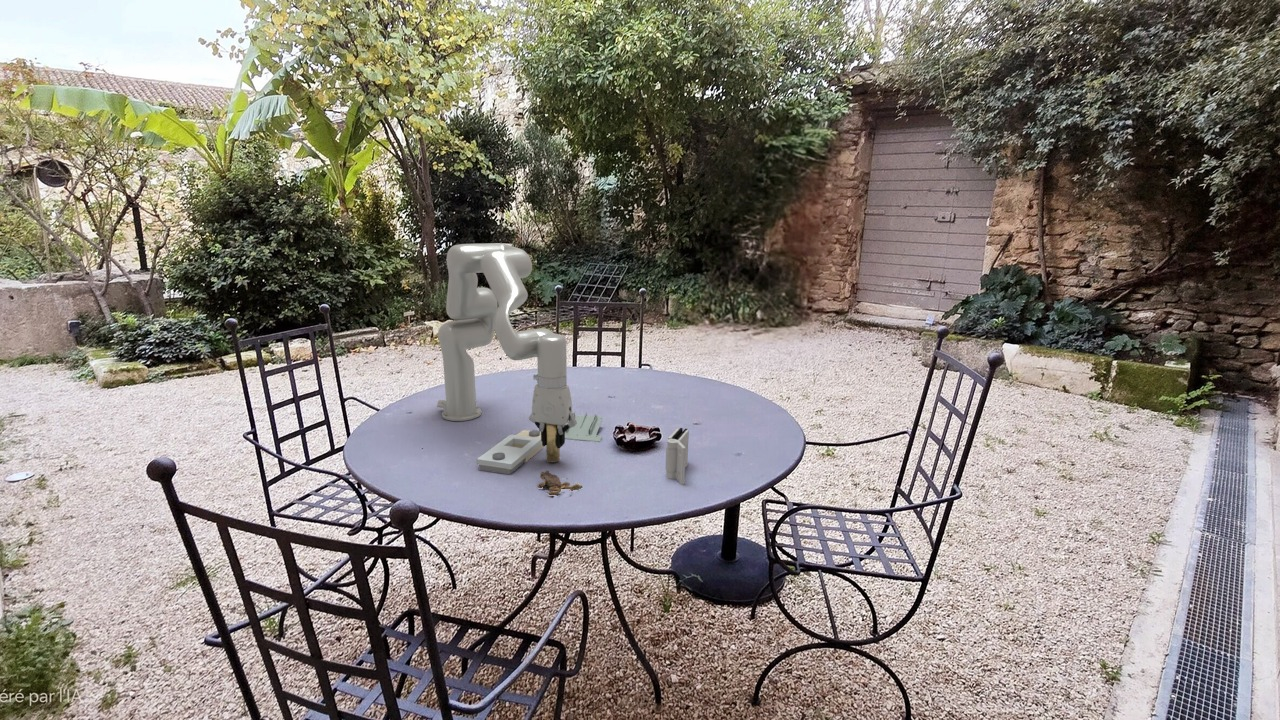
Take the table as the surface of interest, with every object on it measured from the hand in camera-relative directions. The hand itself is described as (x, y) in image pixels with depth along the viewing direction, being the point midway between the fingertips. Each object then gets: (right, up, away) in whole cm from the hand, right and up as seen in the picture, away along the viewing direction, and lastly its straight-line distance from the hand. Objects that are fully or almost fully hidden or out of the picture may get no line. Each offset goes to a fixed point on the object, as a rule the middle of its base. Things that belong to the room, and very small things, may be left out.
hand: (553, 444), depth 159 cm
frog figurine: (+3, -9, -14) cm, 17 cm away
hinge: (+34, -7, -4) cm, 35 cm away
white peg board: (-11, -3, +6) cm, 13 cm away
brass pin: (0, -4, +1) cm, 4 cm away
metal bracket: (+5, 0, +22) cm, 23 cm away
